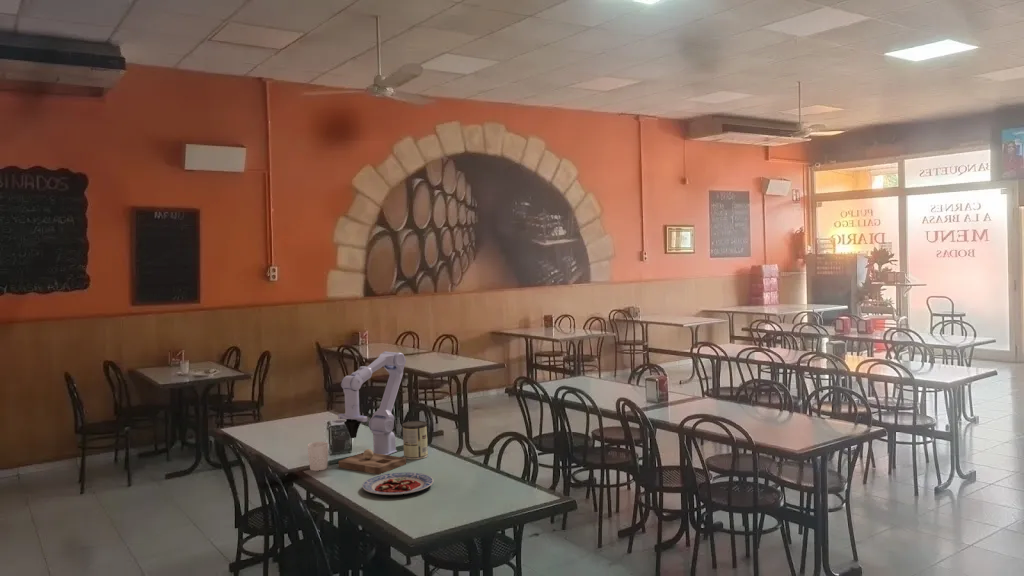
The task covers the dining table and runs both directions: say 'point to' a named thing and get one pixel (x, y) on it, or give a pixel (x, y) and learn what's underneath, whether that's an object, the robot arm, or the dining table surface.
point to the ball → (368, 454)
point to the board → (372, 463)
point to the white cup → (318, 455)
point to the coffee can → (415, 440)
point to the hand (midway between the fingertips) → (353, 437)
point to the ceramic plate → (398, 483)
